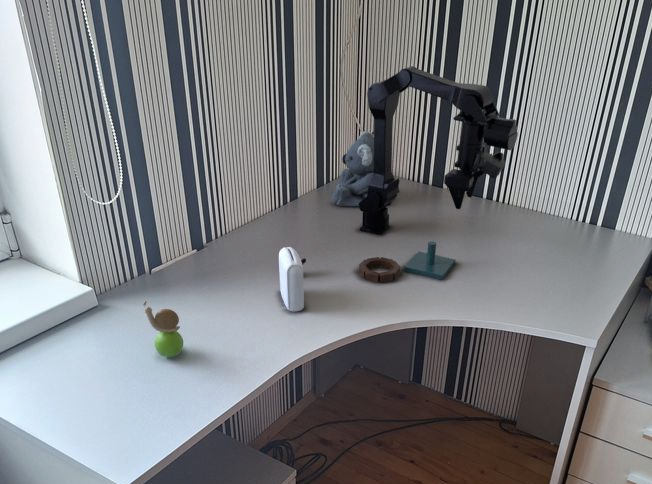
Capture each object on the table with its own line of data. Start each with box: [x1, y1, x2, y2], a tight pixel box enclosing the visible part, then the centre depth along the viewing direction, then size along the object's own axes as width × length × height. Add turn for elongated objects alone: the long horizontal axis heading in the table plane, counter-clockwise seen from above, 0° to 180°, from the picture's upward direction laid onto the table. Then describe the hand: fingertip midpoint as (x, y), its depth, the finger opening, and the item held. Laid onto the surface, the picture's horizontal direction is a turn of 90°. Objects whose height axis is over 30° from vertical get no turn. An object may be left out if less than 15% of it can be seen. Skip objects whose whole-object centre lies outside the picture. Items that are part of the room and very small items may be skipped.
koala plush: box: [331, 129, 374, 208], centre depth 206 cm, size 17×18×20 cm
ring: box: [358, 256, 401, 284], centre depth 169 cm, size 10×10×2 cm
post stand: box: [403, 240, 456, 281], centre depth 171 cm, size 10×10×7 cm
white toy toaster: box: [278, 246, 305, 312], centre depth 153 cm, size 10×4×12 cm, turn 17°
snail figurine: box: [142, 300, 184, 358], centre depth 133 cm, size 5×6×12 cm
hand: (463, 202), depth 174 cm, fingers open, 9 cm apart
